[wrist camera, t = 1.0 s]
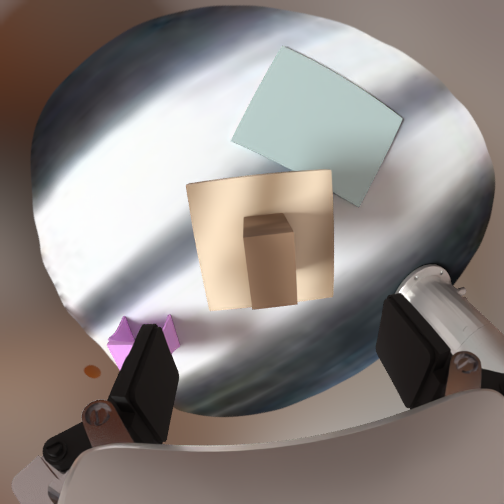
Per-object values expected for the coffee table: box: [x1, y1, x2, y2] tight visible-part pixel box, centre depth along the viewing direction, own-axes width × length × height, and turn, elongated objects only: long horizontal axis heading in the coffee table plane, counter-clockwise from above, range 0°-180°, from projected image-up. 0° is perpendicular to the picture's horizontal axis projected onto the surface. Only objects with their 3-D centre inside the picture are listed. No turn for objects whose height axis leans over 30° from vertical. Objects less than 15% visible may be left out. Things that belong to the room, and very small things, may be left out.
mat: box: [231, 46, 402, 207], centre depth 30 cm, size 18×14×1 cm
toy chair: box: [107, 315, 180, 370], centre depth 33 cm, size 8×9×15 cm
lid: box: [186, 169, 334, 311], centre depth 20 cm, size 11×11×6 cm
